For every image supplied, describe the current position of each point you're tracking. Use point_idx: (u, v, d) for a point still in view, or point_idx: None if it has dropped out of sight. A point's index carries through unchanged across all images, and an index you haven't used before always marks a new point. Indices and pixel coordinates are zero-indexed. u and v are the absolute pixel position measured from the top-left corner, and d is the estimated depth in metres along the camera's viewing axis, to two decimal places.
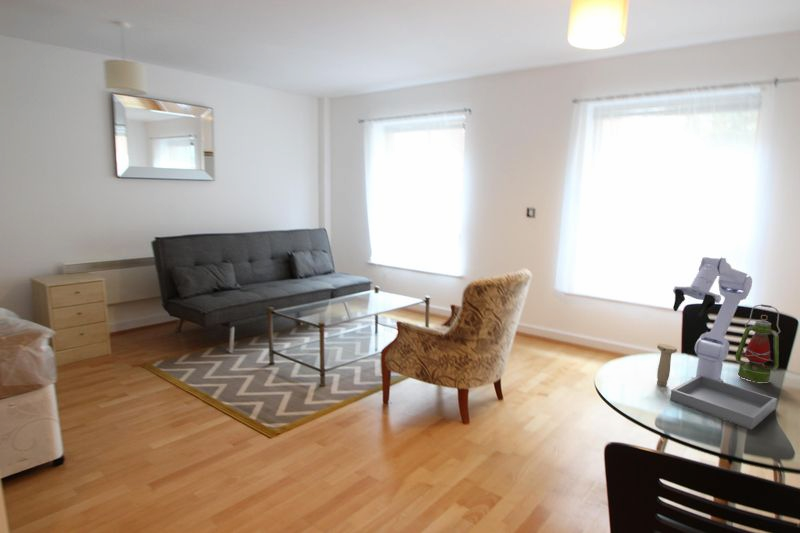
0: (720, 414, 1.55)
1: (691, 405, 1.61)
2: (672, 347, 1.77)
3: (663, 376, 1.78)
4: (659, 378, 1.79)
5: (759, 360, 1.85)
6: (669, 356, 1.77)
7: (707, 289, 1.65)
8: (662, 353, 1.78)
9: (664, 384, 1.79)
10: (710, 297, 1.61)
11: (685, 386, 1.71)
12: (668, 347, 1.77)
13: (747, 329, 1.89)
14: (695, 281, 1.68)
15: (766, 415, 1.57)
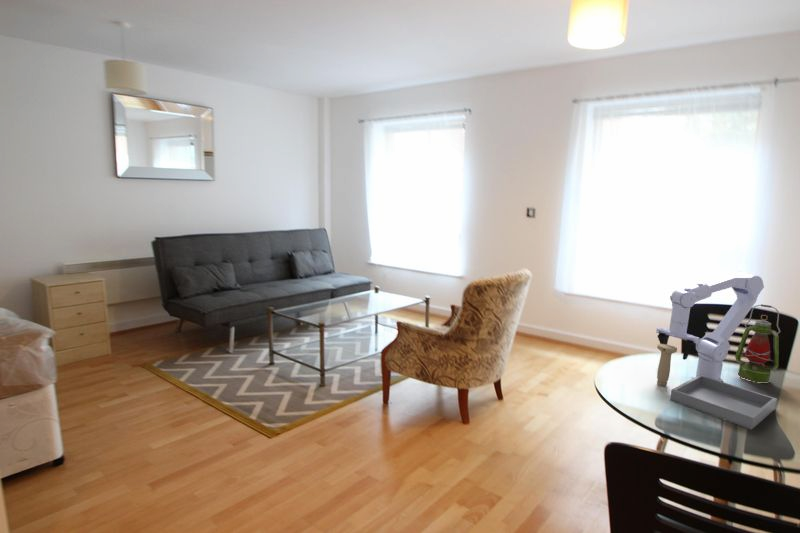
0: (720, 414, 1.55)
1: (691, 405, 1.61)
2: (672, 347, 1.77)
3: (663, 376, 1.78)
4: (659, 378, 1.79)
5: (759, 360, 1.85)
6: (669, 356, 1.77)
7: (684, 331, 1.79)
8: (662, 353, 1.78)
9: (664, 384, 1.79)
10: (689, 345, 1.76)
11: (685, 386, 1.71)
12: (668, 347, 1.77)
13: (747, 329, 1.89)
14: (672, 326, 1.80)
15: (766, 415, 1.57)
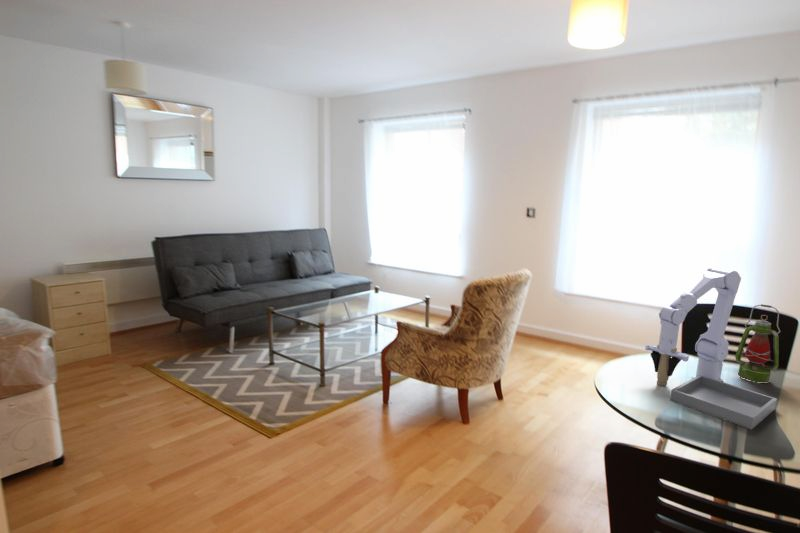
0: (720, 414, 1.55)
1: (691, 405, 1.61)
2: None
3: (663, 376, 1.78)
4: (659, 378, 1.79)
5: (759, 360, 1.85)
6: (669, 356, 1.77)
7: (674, 348, 1.75)
8: None
9: (664, 384, 1.79)
10: (673, 362, 1.74)
11: (685, 386, 1.71)
12: None
13: (747, 329, 1.89)
14: (660, 343, 1.77)
15: (766, 415, 1.57)
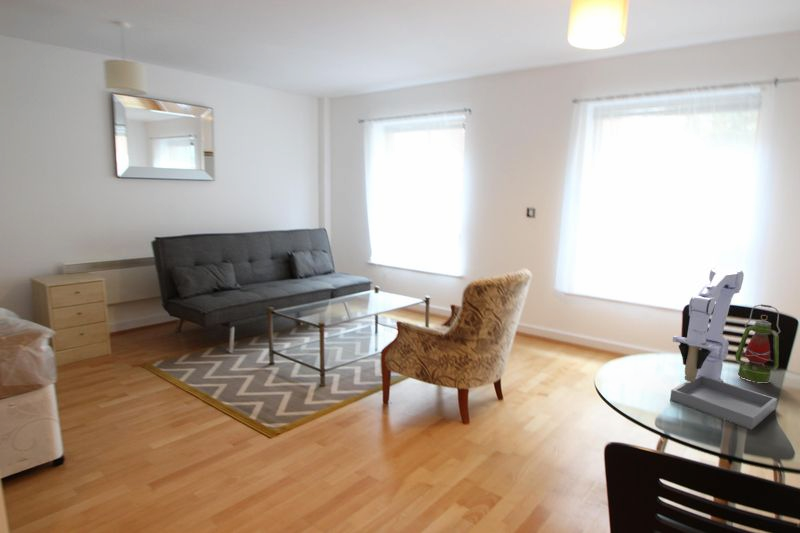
0: (720, 414, 1.55)
1: (691, 405, 1.61)
2: None
3: (692, 372, 1.70)
4: (687, 374, 1.71)
5: (759, 360, 1.85)
6: (697, 351, 1.69)
7: (703, 340, 1.67)
8: (690, 347, 1.70)
9: (692, 380, 1.71)
10: (703, 354, 1.66)
11: (685, 386, 1.71)
12: None
13: (747, 329, 1.89)
14: (689, 334, 1.69)
15: (766, 415, 1.57)
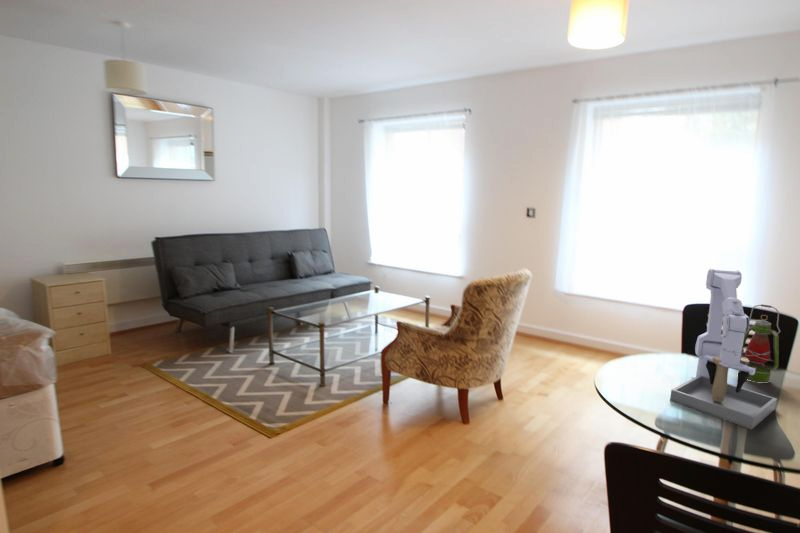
0: (720, 414, 1.55)
1: (691, 405, 1.61)
2: None
3: (720, 392, 1.63)
4: (715, 394, 1.65)
5: (759, 360, 1.85)
6: (726, 370, 1.62)
7: (738, 361, 1.59)
8: (718, 367, 1.63)
9: (721, 400, 1.64)
10: (744, 377, 1.57)
11: (685, 386, 1.71)
12: None
13: None
14: (723, 355, 1.61)
15: (766, 415, 1.57)
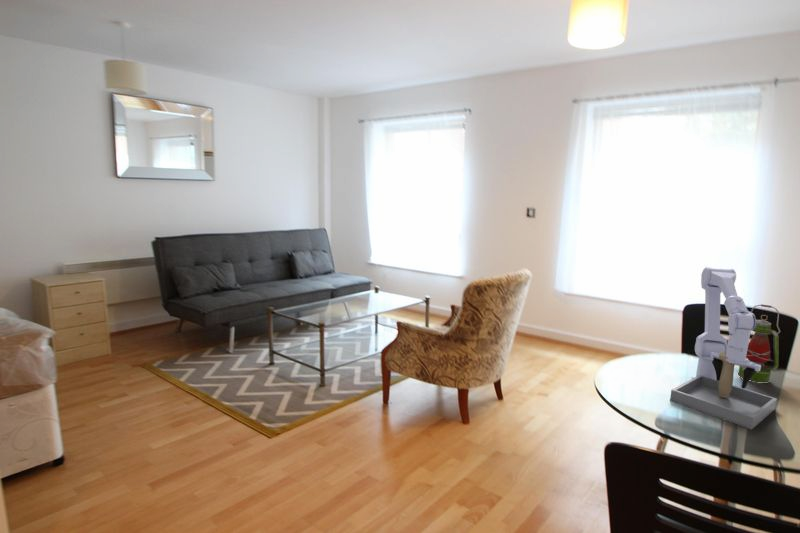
0: (720, 414, 1.55)
1: (691, 405, 1.61)
2: None
3: (726, 388, 1.67)
4: (721, 390, 1.68)
5: (759, 360, 1.85)
6: (732, 367, 1.66)
7: (744, 357, 1.63)
8: (724, 363, 1.67)
9: (727, 396, 1.68)
10: (749, 373, 1.60)
11: (685, 386, 1.71)
12: None
13: None
14: (729, 351, 1.65)
15: (766, 415, 1.57)
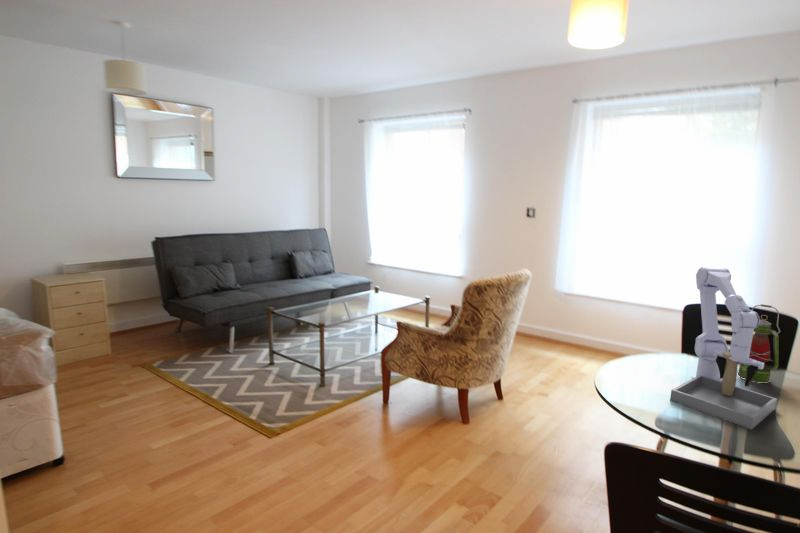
0: (720, 414, 1.55)
1: (691, 405, 1.61)
2: None
3: (729, 386, 1.69)
4: (724, 388, 1.70)
5: (759, 360, 1.85)
6: (735, 365, 1.68)
7: (747, 355, 1.65)
8: (728, 361, 1.69)
9: (730, 394, 1.70)
10: (753, 371, 1.62)
11: (685, 386, 1.71)
12: None
13: None
14: (732, 350, 1.67)
15: (766, 415, 1.57)
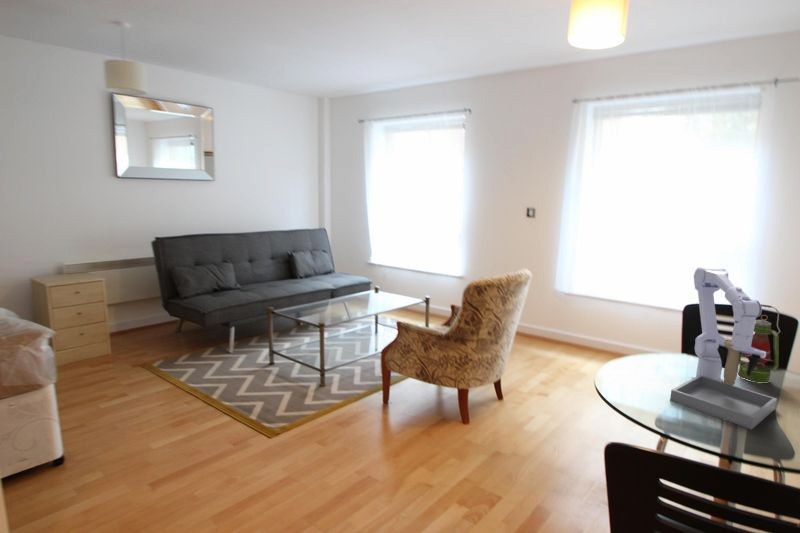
0: (720, 414, 1.55)
1: (691, 405, 1.61)
2: None
3: (731, 375, 1.68)
4: (726, 377, 1.69)
5: None
6: (737, 354, 1.67)
7: (749, 344, 1.64)
8: (730, 351, 1.68)
9: (732, 383, 1.69)
10: (755, 360, 1.62)
11: (685, 386, 1.71)
12: None
13: None
14: (734, 339, 1.66)
15: (766, 415, 1.57)
